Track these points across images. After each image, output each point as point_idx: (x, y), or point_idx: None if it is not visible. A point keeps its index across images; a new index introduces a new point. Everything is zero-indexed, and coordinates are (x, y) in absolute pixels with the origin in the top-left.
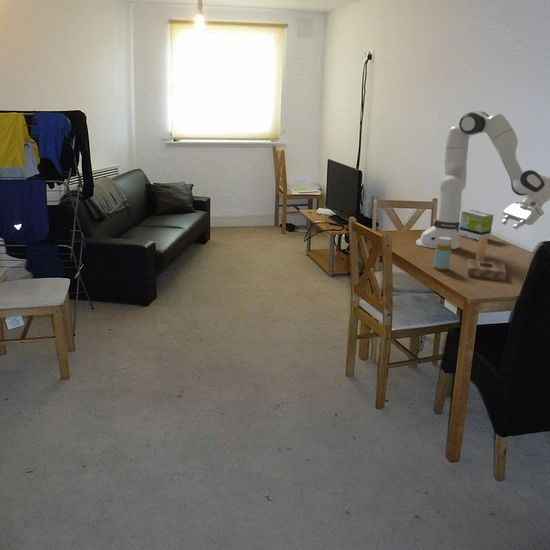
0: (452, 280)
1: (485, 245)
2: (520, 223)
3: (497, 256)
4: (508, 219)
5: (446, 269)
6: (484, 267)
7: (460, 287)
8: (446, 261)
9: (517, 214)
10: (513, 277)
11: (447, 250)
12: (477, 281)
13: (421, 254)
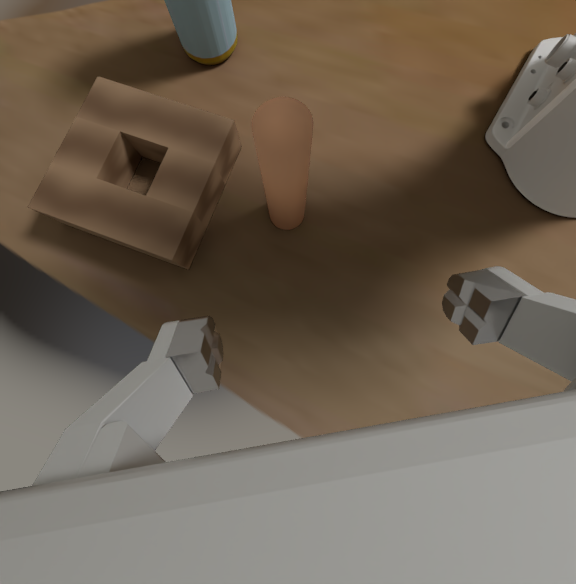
0: (78, 43)
1: (260, 165)
2: (105, 414)
3: (418, 350)
4: (565, 389)
5: (185, 51)
6: (100, 141)
7: (8, 46)
8: (167, 7)
9: (387, 570)
10: (102, 278)
11: None
12: (63, 121)
13: (397, 28)
